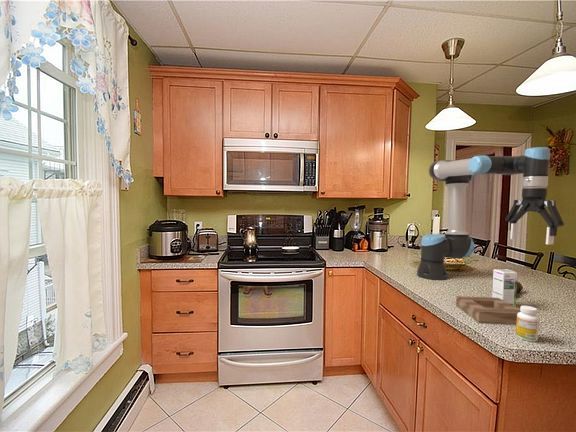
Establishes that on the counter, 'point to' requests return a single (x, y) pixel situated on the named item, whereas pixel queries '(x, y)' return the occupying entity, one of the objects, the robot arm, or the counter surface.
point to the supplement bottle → (527, 324)
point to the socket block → (488, 309)
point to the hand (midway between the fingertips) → (530, 241)
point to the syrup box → (505, 285)
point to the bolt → (519, 287)
